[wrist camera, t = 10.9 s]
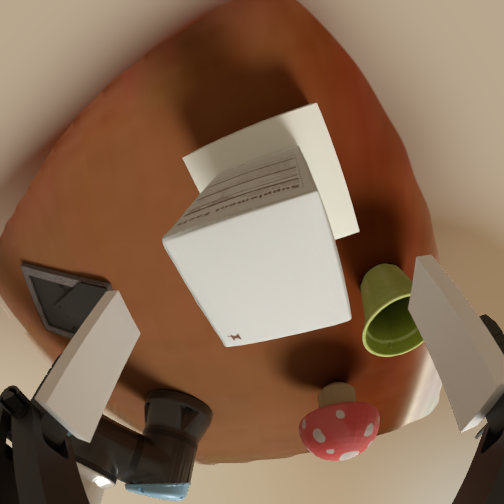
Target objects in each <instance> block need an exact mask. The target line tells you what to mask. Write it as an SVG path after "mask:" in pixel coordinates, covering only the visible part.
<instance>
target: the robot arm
mask: <svg viewBox="0 0 504 504" xmlns="http://www.w3.org/2000/svg"><path fill="white" fill-rule="evenodd" d="M408 310H409V312H410V314H411V316H412V318H413V320H414V322H415V324H416V326H417V328H418V330H419V332H420V334H421V336H422V338H423V340H424V342H425V344H426V347H427V349H428V351H429V353H430V355H431V358H432V360H433V362H434V364H435V367H436V369H437V371H438V374H439V376H440V379H441V381H442V383H443V386H444V388H445V391H446V394H447V396H448V399H449V401H450V404H451V407H452V409H453V412H454V415H455V418H456V421H457V424H458V427H459V430H460V433H461V432H463V431H466V430H468V429H470V428H472V427H475V426H477V425H478V424H479V423H480V422H481V421H482V419H484V417H485V416H486V419H487V422H488V423H487V424H486V425H485V426H484V427H483V428H482V429H481V430H480V431H479V432H478V433H477V435H476V437H475V438H476V439H477V438H478V437H479V436H480V435H481V434H482V433H483V434H482V437H481V440H480V442H479V445H478V448H477V451H476V453H475V456H474V458H473V461H472V463H471V466H470V468H469V470H468V473H467V475H466V477H465V479H464V481H463V483H462V485H461V487H460V489H459V491H458V493H457V495H456V497H455V499H454V501H453V503H452V504H504V334H503V332H502V330H501V329H500V328H499V326H498V325H497V323H496V322H495V321H494V320H492V319H491V318H490V317H489V316H487V315H486V314H485V315H482V316H478V314H477V313H476V311H475V310H474V309H473V307H472V306H471V304H470V303H469V302H468V300H467V299H466V298H465V296H464V295H463V294H462V292H461V291H460V290H459V288H458V287H457V286H456V284H455V283H454V282H453V281H452V279H451V278H450V277H449V276H448V274H447V273H446V272H445V271H444V269H443V268H442V267H441V266H440V265H439V263H438V262H437V261H436V260H435V259H434V257H433V256H432V255H426V256H420V257H416V262H415V269H414V276H413V283H412V289H411V295H410V300H409V306H408ZM139 336H140V332H139V330H138V328H137V326H136V324H135V322H134V321H133V319H132V317H131V315H130V313H129V311H128V309H127V307H126V305H125V303H124V301H123V299H122V297H121V295H120V293H119V291H106V293H105V294H104V295H103V297H102V298H101V299H100V301H99V302H98V303H97V305H96V306H95V307H94V309H93V310H92V311H91V313H90V314H89V315H88V317H87V318H86V320H85V321H84V322H83V324H82V325H81V327H80V328H79V329H78V331H77V332H76V334H75V335H74V337H73V338H72V340H71V341H70V343H69V344H68V345H67V347H66V348H65V350H64V351H63V353H61V354H60V355H59V356H58V357H57V359H56V360H55V362H54V363H53V365H52V368H50V369H49V371H48V373H47V374H48V375H46V376H45V377H44V379H43V381H42V382H41V384H40V386H39V387H38V389H37V391H36V393H35V394H34V396H33V398H32V399H31V401H30V400H28V399H27V397H26V396H25V395H24V394H23V393H22V392H21V391H20V390H19V389H18V388H17V387H16V386H9V387H8V388H6V389H5V390H4V391H3V392H2V394H1V395H0V504H100V503H101V500H102V496H103V493H104V490H105V489H107V488H110V487H113V486H115V484H116V481H117V479H118V480H120V481H123V482H125V483H126V484H125V487H126V490H128V491H131V492H134V493H137V494H140V495H145V496H149V497H154V498H159V499H165V500H173V501H180V500H183V499H184V498H185V497H186V495H187V492H188V488H189V485H190V484H191V483H190V481H191V476H192V471H193V466H194V461H195V456H196V451H197V447H198V443H199V441H200V440H201V438H202V437H203V435H204V434H205V432H206V431H207V429H208V428H209V426H210V424H211V421H212V416H213V414H212V411H211V409H210V408H209V407H208V406H207V405H205V404H204V403H203V402H201V401H199V400H198V399H196V398H194V397H191V396H189V395H186V394H183V393H180V392H176V391H170V390H154V391H151V392H150V393H149V394H148V395H147V398H146V401H145V428H144V431H143V434H139V433H137V432H135V431H133V430H131V429H129V428H127V427H125V426H123V425H121V424H119V423H117V422H116V421H114V420H112V419H110V418H108V417H107V416H105V415H103V411H104V409H105V407H106V404H107V402H108V400H109V398H110V396H111V393H112V391H113V389H114V387H115V385H116V383H117V380H118V378H119V376H120V374H121V372H122V370H123V368H124V366H125V364H126V362H127V360H128V358H129V356H130V354H131V351H132V349H133V347H134V345H135V343H136V342H137V340H138V338H139ZM6 438H7V439H9V440H10V441H11V442H12V448H11V447H10V446H9V445H7V444H6Z"/></svg>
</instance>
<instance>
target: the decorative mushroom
mask: <svg viewBox="0 0 504 504" xmlns="http://www.w3.org/2000/svg"><path fill="white" fill-rule="evenodd" d="M318 404H319V408H318V409H316V410H314V411H312V412H311V413H309V414H307V415H306V416H305V417H304V418H303V419H302V420H301V422H300V425H299V434H300V437H301V439H302V441H303V443H304V445H305V447H306V448H307V449H308V450H309V451H310V452H311V453H312V454H314V455H316V456H317V457H320V458H322V459H325V460H331V461H341V460H346V459H349V458H352V457H354V456H357V455H358V454H360V453H361V452H363V451H364V450H365V449H366V448H367V447H368V446H369V445H370V444H371V443H372V441H373V440H374V439H375V437H376V435H377V432H378V428H379V419H380V416H379V411H378V410H377V408H376V407H375V406H373V405H371V404H368V403H365V402H356V396H355V389H354V387H353V386H351V385H349V384H347V383H344V382H334V383H331V384H328V385H327V386H325V387H324V388H323V389H322V390H321V391H320V392H319V394H318Z"/></svg>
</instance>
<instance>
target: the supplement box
mask: <svg viewBox="0 0 504 504" xmlns="http://www.w3.org/2000/svg"><path fill="white" fill-rule="evenodd" d="M162 242H163V245H164V247H165V249H166V251H167V252H168V254H169V256H170V258H171V260H172V261H173V263H174V264H175V266H176V268H177V270H178V271H179V273H180V275H181V276H182V278H183V280H184V282H185V283H186V285H187V286H188V288H189V290H190V291H191V293H192V295H193V296H194V298H195V300H196V302H197V304H198V305H199V307H200V308H201V309H202V311H203V312H204V314H205V316H206V317H207V319H208V320H209V322H210V323H211V325H212V327H213V328H214V330H215V331H216V333H217V334H218V336H219V337H220V339H221V340H222V342H223V344H224V345H225V346H226V347H230V346H238V345H245V344H251V343H256V342H261V341H267V340H271V339H277V338H281V337H286V336H290V335H295V334H300V333H304V332H308V331H312V330H316V329H320V328H325V327H329V326H333V325H336V324H340V323H343V322H346V321H349V320H350V319H351V311H350V305H349V299H348V294H347V289H346V284H345V279H344V274H343V270H342V265H341V261H340V257H339V253H338V250H337V246H336V242H335V238H334V235H333V232H332V228H331V225H330V222H329V219H328V216H327V213H326V210H325V207H324V204H323V202H322V199H321V196H320V193H319V191H318V189H317V186H316V184H315V181H314V179H313V177H312V174H311V172H310V169H309V167H308V164H307V162H306V160H305V158H304V156H303V153H302V152H301V149H300V147H299V146H294V147H292V148H288V149H285V150H283V151H280V152H277V153H274V154H271V155H268V156H265V157H262V158H259V159H256V160H254V161H251V162H248V163H245V164H242V165H240V166H237V167H234V168H232V169H229V170H227V171H224V172H221V173H219V174H218V175H217V176H216V177H215V178H214V179H213V180H212V181H211V182H210V183H209V184H208V185H207V187H206V188H205V189H204V190H203V191H202V192H201V194H200V195H199V196H198V197H197V198H196V199H195V201H194V202H193V203H192V204H191V205H190V207H189V208H188V209H187V210H186V211H185V213H184V214H183V215H182V216H181V218H180V219H179V220H178V221H177V222H176V224H175V225H174V226H173V227H172V228H171V229H170V230H169V231H168V232H167V233H166V234H165V235H164V237H163V238H162Z"/></svg>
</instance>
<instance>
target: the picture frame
mask: <svg viewBox="0 0 504 504" xmlns="http://www.w3.org/2000/svg"><path fill="white" fill-rule="evenodd" d="M20 266H21V269H22V272H23V275H24V278H25V280H26V283H27V286H28V288H29V291H30V294H31V296H32V299H33V301H34V304H35V306H36V308H37V311H38V313H39V315H40V317H41V320H42V322H43V324H44V326H45V328H46V330H49V331H51V332H54V333H56V334H59V335H62V336H64V337H67V338H70V339H72V338H73V337H74V335H75V334H76V332H77V331H78V329H79V328H80V327H81V325H82V324H83V322H84V321H85V320H86V318H87V317H88V315H89V314H90V313H91V311H92V310H93V309H94V307H95V306H96V305H97V303H98V302H99V301H100V299H101V298H102V297H103V295H104V294H105V293H106V291H112V286H111V283H108V282H103V281H98V280H94V279H89V278H85V277H80V276H76V275H72V274H67V273H63V272H59V271H55V270H51V269H47V268H43V267H39V266H35V265H31V264H27V263H23V264H22V265H20Z"/></svg>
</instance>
